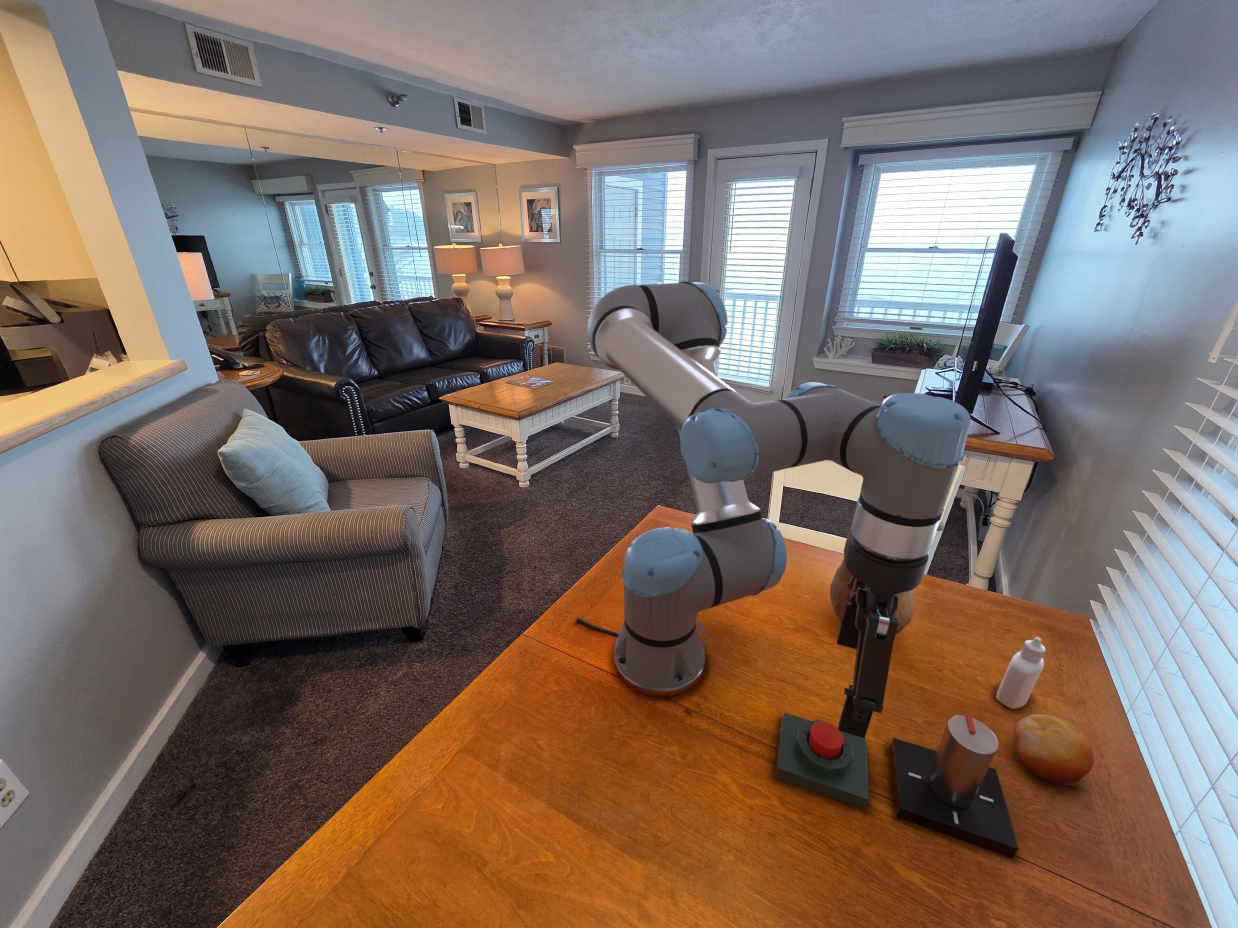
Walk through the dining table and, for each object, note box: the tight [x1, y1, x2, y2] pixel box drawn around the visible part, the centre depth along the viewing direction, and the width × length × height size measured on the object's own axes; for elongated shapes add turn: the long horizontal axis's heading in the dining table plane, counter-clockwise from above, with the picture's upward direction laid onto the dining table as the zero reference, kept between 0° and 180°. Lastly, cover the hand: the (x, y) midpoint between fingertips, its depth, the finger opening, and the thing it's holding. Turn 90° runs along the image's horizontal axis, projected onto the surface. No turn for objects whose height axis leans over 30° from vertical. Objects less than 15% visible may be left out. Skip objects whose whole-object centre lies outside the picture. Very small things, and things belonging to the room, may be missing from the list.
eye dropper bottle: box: [995, 636, 1046, 710], centre depth 75 cm, size 4×6×12 cm
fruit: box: [1013, 713, 1095, 787], centre depth 66 cm, size 8×8×8 cm
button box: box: [774, 711, 870, 811], centre depth 67 cm, size 11×9×4 cm
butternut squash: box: [829, 513, 915, 636], centre depth 86 cm, size 14×13×25 cm
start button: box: [809, 720, 843, 759], centre depth 66 cm, size 4×4×2 cm
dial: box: [927, 714, 999, 808], centre depth 61 cm, size 5×5×10 cm
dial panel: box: [889, 737, 1019, 859], centre depth 63 cm, size 12×10×2 cm
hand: (849, 684), depth 62 cm, fingers open, 13 cm apart
